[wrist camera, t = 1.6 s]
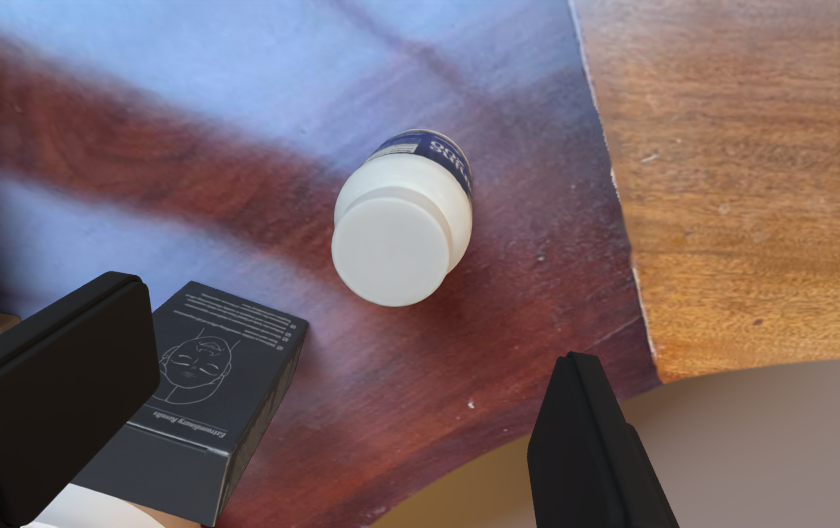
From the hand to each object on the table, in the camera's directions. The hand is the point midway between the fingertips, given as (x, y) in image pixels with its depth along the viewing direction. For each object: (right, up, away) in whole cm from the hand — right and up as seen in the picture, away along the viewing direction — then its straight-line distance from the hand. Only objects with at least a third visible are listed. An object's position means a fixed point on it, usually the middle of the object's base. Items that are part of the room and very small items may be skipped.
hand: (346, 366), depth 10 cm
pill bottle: (+2, +7, +13) cm, 15 cm away
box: (-10, -2, +19) cm, 22 cm away
